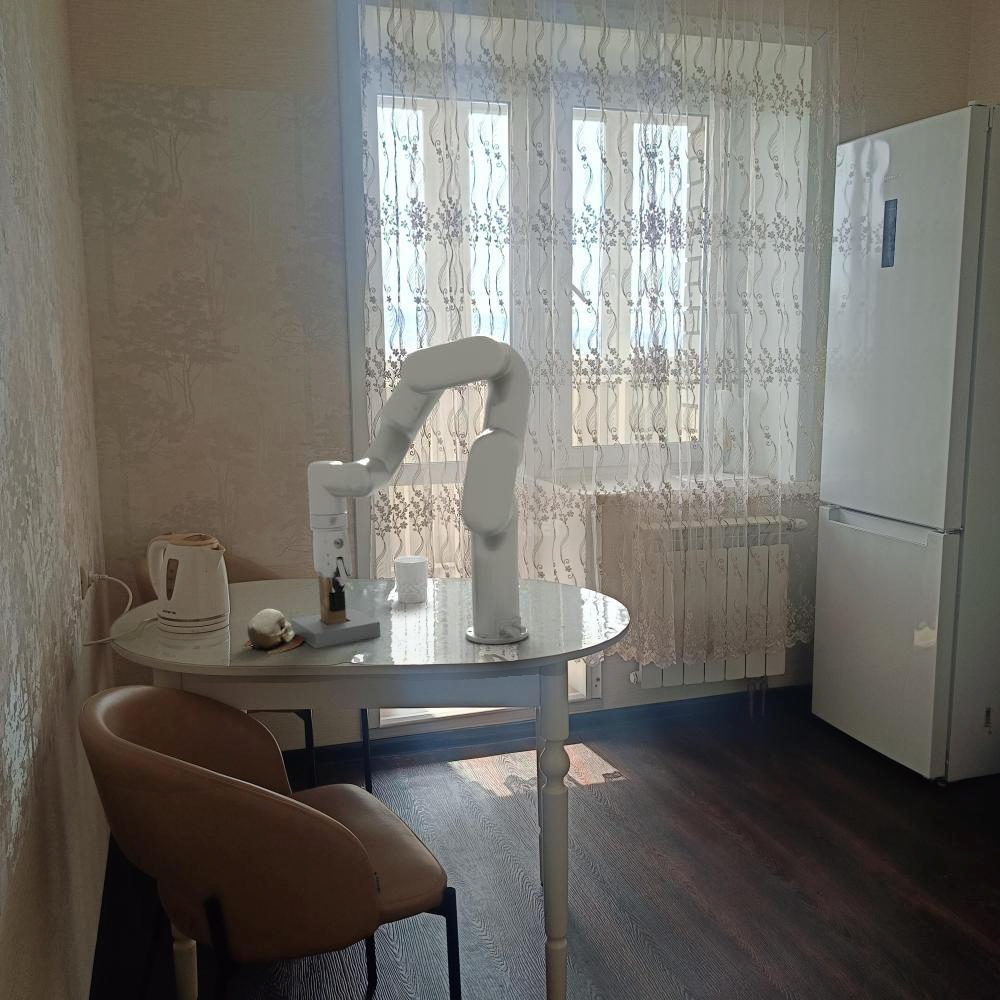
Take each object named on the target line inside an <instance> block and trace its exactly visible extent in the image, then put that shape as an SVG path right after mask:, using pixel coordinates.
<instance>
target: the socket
mask: <svg viewBox="0 0 1000 1000" xmlns="http://www.w3.org/2000/svg"><path fill="white" fill-rule="evenodd" d="M290 624H291V630H292V631H293V632H294V633H295V634H297V635H300V636H302V637H303V642H305V643H307V644H308V645H310V646H311V647H313V648H314V649H319V648H325V647H330V646H335V645H342V644H346V643H351V642H352V643H353V642H357V641H361V639H362V640H365V639H367V638H368V639H372V638H376V637H377V638H378V637H381V625H380V624H381V623H380V621H379V620H377V619H375V618H373V617H370V616H369V615H367V614H365V613H364V612H361V611H359V610H358V609H356V608H352V607H351V608H346V622H343V623H337V624H332V625H326V624H325V623H323V622H321V613H318V614H311V615H307V616H300V617H295V618H291V619H290Z"/></svg>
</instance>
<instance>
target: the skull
mask: <svg viewBox="0 0 1000 1000" xmlns="http://www.w3.org/2000/svg"><path fill="white" fill-rule="evenodd" d="M247 635H248V641H246V642H244V644H242V647H243V646H245V647H247V646H251V645H253V646H251V647H252V649H251V650H255V649H256V650H255V651H259V652H263V653H265V654H270V655H271V654H272V655H273V654H277V653H282V652H286V651H289V650H292V649H294V648H297V647H299V646H300V645H301V644H302V643H303V642H304V641H303V637H302V636H300V635H297V634H295V633H294V632H293V631H292V629H291V622H288V621H287V619H286V618H285V615H284V614H283V613H282V612H281V611H279V610H278V609H273V608H266V609H262V610H260V611H259V612H258V613H256V614H255V615H254V616H253V618H251V620H250V621H249V623H248V624H247ZM242 647H241V648H242ZM251 647H250V648H251ZM247 648H248V647H247Z"/></svg>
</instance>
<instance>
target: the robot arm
mask: <svg viewBox="0 0 1000 1000" xmlns="http://www.w3.org/2000/svg"><path fill="white" fill-rule="evenodd" d="M400 375H401V378H400V380H399V382H398V383H397V384H396V386H395V388H394V389H393V391H392V393H391V395H390V396H389V397H388V399H387V400H386V402H385V404H384V405H383V407H382V408H381V410H380V411H381V412H380V415H379V417H380V426H379V429H378V431H377V433H376V436H375V438H374V439H373V441H372V443H371V444H370V446H369V448H368V449H367V451H366V452H365V454H364V455H363V457H362V458H361V459H358V460H355V461H352V462H346V463H345V462H344V463H343V462H341V461H339V460H319V461H314V462H311V463H310V464H309V465H308V468H307V486H308V502H309V504H308V505H309V506H308V507H309V523H310V524H309V525H310V528H309V529H310V530H311V531H312V533H313V534H312V555H313V556H312V557H313V568H314V570H315V572H316V573H318V571H320V572H321V573H323V574H326V577H328V578H329V583H330V591H331V592H330V593H329V606H330V611H331V612H335V611H341V610H345V606H346V586H345V585H346V583H348V577H351V576H352V574H353V566H352V558H351V557H352V556H351V548H350V540H349V535H348V530H347V529H348V527H349V526H348V508H347V507H348V504H347V503H348V502H347V499H348V498H349V499H357V500H360V499H366V498H369V497H371V496H373V495H374V494H376V493H378V492H380V491H382V490H383V489H384V488H385V487H386V486H387V485H388V484H389V482H390V481H391V479H393V476H394V475H395V473H396V472H397V470H398V469H399V467H400V466H401V464H402V463H403V461H404V460H405V458H406V456H407V453H408V452H409V450H410V448H411V447H412V445H413V443H414V441H415V440H416V437H417V435H418V433H419V432H420V430H421V428H422V426H423V425H424V423H426V421H427V418H428V417H429V416H430V415H431V413H432V412H433V410H434V408H435V406H436V405H437V403H438V402H439V400H440V399H441V398H442V396H443V395H444V394H445V391H446V390H448V389H452V388H457V387H460V386H464V385H465V386H466V385H468V384H473V383H478V382H482V381H485V382H486V383H487V389H488V390H487V397H486V401H485V407H484V417H483V421H482V423H483V424H482V429H481V433H480V434H479V435H478V436H477V437H476V438H475V439H474V440H473V442H472V445H471V446H470V449H469V452H468V458H467V464H466V470H465V477H464V485H463V491H462V498H461V507H460V508H461V509H460V513H461V519H462V521H463V524H464V525H465V526H466V527H465V528H467V530H469V531H470V567H471V568H470V569H471V570H470V571H471V572H470V574H471V575H470V577H471V595H472V596H471V597H472V599H471V602H472V626H470V627H468V628H467V629H466V631H465V636H466V639H467V640H469V641H471V642H473V643H477V644H484V645H504V644H512V643H516V642H519V641H522V640H524V639H526V638H527V637H528V635H529V630H528V628H527V626H525V625H523V624H522V617H521V616H520V615H521V613H520V609H521V608H520V584H519V583H520V582H519V581H520V579H519V577H520V576H519V502H518V498H517V495H516V493H515V487H516V486H515V485H516V480H517V474H518V469H519V467H520V465H522V461H523V459H524V454H525V452H524V451H525V441H526V440H525V439H526V432H527V426H528V418H529V409H530V408H529V407H530V399H531V386H532V385H531V377H530V372H529V369H528V366H527V364H526V361H525V359H524V358H523V357H522V356H521V354H520V353H519V352H518V351H517V350H516V349H515V348H514V347H513V346H512V345H510V344H509V343H507V342H506V341H504V340H502V339H501V338H498V337H497V336H493V335H487V334H475V335H471V336H466V337H463V338H459V339H455V340H450V341H447V342H444V343H440V344H436V345H435V344H434V345H431V346H427V347H422V348H418V349H416V350H413V351H412V352H410V353H409V354H408V355H406V357H405V358H404V360H403V362H402V365H401V370H400ZM334 574H338V577H334V576H335V575H334ZM334 580H338V581H336V582H335V584H334ZM344 591H345V592H344Z"/></svg>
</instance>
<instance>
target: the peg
mask: <svg viewBox="0 0 1000 1000" xmlns="http://www.w3.org/2000/svg"><path fill="white" fill-rule="evenodd" d="M317 574H318V590H319V592H318V593H319V608H320V611H319V612H320V613H319V614H321V622H323V623H325V624H326V625H332V624H337V623H343V622H346V609H347V606H346V605H345V610H341V611H335V612H331V611H330V606H329V593H330V592H331V591H330V583H329V578H328V577H326V574H323V573H321V572H320V571H318V572H317ZM334 575H335V576H334V577H338V574H334ZM336 581H338V580H334V584H335V582H336ZM344 592H345V593H346V590H345V591H344Z"/></svg>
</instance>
